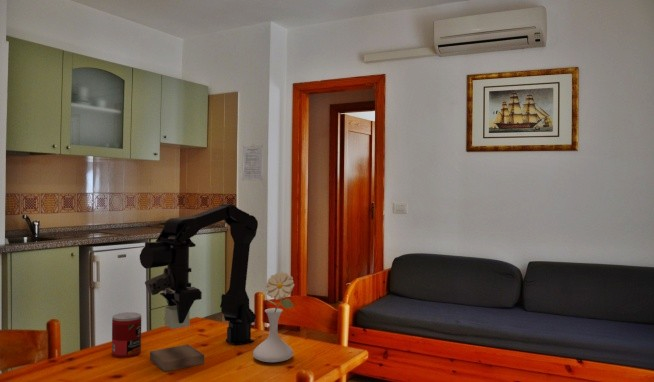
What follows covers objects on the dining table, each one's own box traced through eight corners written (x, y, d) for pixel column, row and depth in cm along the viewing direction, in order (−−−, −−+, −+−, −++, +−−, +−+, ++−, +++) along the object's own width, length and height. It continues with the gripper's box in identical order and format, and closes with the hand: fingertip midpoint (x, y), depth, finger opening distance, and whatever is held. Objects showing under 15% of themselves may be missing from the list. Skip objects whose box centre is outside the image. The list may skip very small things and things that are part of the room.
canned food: (131, 359, 143) (131, 319, 143) (105, 356, 144) (106, 317, 144) (146, 350, 150) (146, 313, 150) (121, 348, 152) (122, 311, 152)
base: (187, 352, 149) (188, 344, 149) (203, 363, 140) (204, 354, 140) (149, 360, 142) (149, 351, 142) (164, 371, 133) (164, 362, 133)
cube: (182, 322, 144) (182, 304, 144) (189, 326, 141) (189, 307, 141) (164, 324, 141) (165, 306, 141) (171, 329, 137) (171, 310, 137)
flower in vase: (244, 360, 143) (245, 270, 143) (272, 350, 152) (273, 266, 152) (278, 370, 136) (279, 276, 135) (306, 359, 145) (307, 271, 144)
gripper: (137, 262, 143) (136, 318, 144) (161, 271, 129) (160, 333, 129) (176, 259, 150) (175, 312, 150) (202, 267, 135) (202, 327, 136)
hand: (177, 321), depth 141 cm, fingers closed on cube, 5 cm apart
